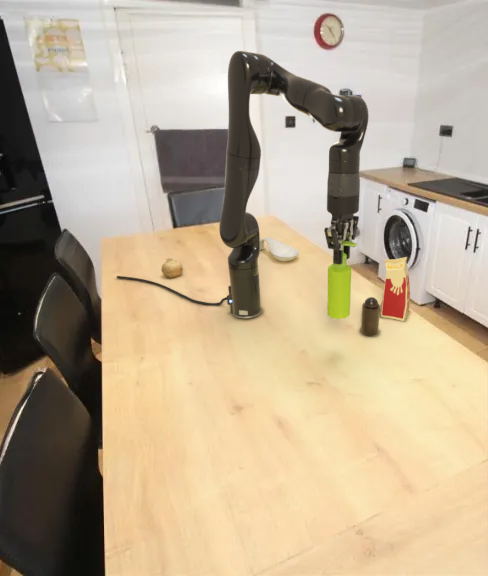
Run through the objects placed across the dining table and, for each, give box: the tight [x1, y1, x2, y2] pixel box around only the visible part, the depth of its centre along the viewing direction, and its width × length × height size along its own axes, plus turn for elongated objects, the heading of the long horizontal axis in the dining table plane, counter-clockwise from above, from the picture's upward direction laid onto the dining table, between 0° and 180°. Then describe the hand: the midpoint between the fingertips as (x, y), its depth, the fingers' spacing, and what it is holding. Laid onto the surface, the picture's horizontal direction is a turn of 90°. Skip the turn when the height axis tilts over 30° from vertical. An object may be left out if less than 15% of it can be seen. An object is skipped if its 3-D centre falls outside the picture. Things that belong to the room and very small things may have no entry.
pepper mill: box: [360, 296, 381, 337], centre depth 122 cm, size 5×5×12 cm
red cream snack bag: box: [379, 256, 411, 322], centre depth 131 cm, size 9×9×20 cm
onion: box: [160, 258, 183, 279], centre depth 161 cm, size 8×8×7 cm
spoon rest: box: [260, 236, 300, 263], centre depth 181 cm, size 24×12×7 cm, turn 48°
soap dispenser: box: [327, 240, 358, 320], centre depth 104 cm, size 6×7×20 cm
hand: (341, 260), depth 101 cm, fingers closed on soap dispenser, 3 cm apart
